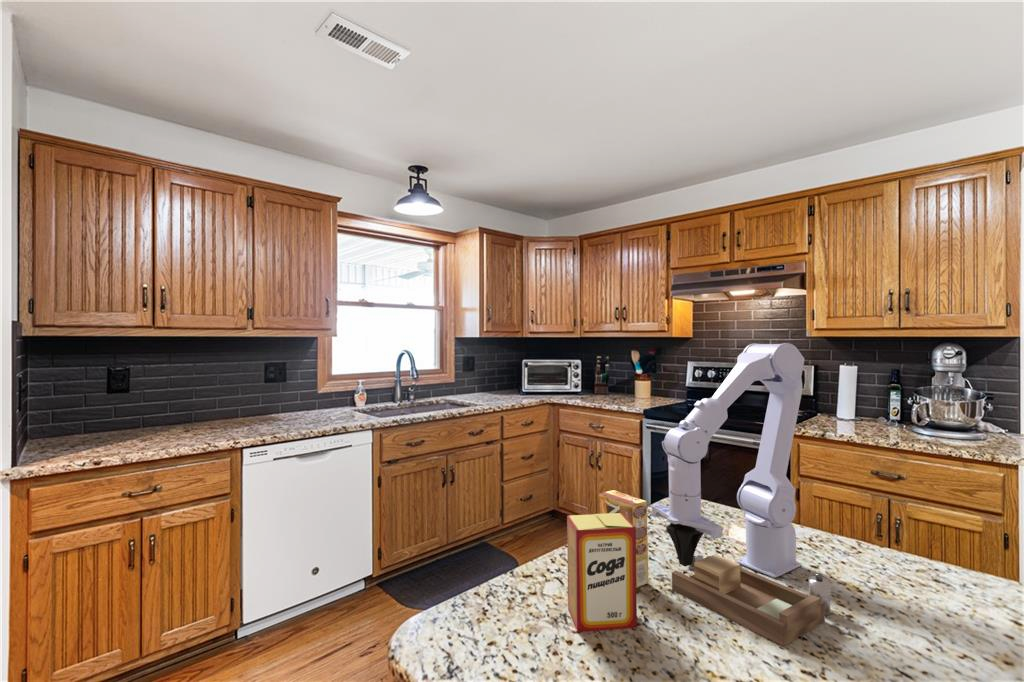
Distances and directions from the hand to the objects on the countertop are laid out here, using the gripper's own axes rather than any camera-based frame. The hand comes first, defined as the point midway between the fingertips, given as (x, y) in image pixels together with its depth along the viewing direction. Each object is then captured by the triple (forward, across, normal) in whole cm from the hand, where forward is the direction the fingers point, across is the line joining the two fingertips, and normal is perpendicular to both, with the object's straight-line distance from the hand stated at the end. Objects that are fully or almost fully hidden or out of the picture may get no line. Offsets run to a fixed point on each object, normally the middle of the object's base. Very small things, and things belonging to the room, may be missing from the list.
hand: (685, 564), depth 93 cm
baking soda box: (+3, +2, -23) cm, 23 cm away
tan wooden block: (+1, +7, 0) cm, 7 cm away
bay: (+2, +12, 0) cm, 12 cm away
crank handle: (+3, -2, +6) cm, 7 cm away
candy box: (+3, -6, -10) cm, 12 cm away
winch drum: (+2, +20, +8) cm, 22 cm away
